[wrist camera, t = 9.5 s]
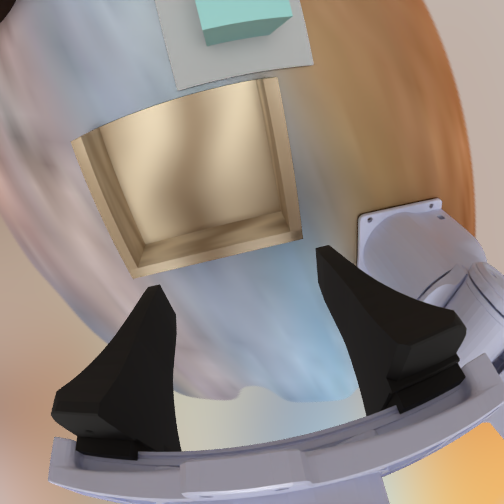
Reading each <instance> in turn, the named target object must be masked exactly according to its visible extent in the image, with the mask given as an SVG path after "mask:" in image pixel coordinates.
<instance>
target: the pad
mask: <svg viewBox="0 0 504 504" xmlns="http://www.w3.org/2000/svg"><path fill="white" fill-rule="evenodd" d="M289 2H290V6H291V10H292V14H293V17H291V18H290V19H289V20H287V21H286V22H285V23H284V24H282V25H281V26H280V27H278V28H277V29H276V30H275V31H273V32H272V33H271V34H270V35H265V36H258V37H251V38H245V39H239V40H234V41H229V42H224V43H219V44H215V45H210V46H207V45H206V41H205V38H204V34H203V30H202V27H201V22H200V18H199V14H198V10H197V6H196V2H195V0H155V3H156V7H157V12H158V16H159V20H160V24H161V28H162V32H163V36H164V40H165V44H166V48H167V52H168V56H169V60H170V64H171V68H172V72H173V76H174V79H175V83H176V87H177V91H179V90H183V89H186V88H190V87H193V86H197V85H201V84H205V83H209V82H213V81H217V80H221V79H225V78H230V77H235V76H240V75H245V74H250V73H256V72H261V71H268V70H274V69H281V68H289V67H298V66H307V65H314V64H313V58H312V53H311V48H310V43H309V39H308V34H307V30H306V25H305V21H304V17H303V12H302V8H301V4H300V0H289Z"/></svg>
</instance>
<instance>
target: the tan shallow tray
mask: <svg viewBox="0 0 504 504" xmlns="http://www.w3.org/2000/svg"><path fill="white" fill-rule="evenodd" d="M71 144H72V147H73V149H74V152H75V155H76V158H77V160H78V163H79V165H80V168H81V171H82V173H83V176H84V178H85V180H86V183H87V185H88V188H89V190H90V192H91V195H92V197H93V199H94V202H95V204H96V206H97V208H98V211H99V213H100V215H101V217H102V219H103V221H104V223H105V226H106V228H107V230H108V232H109V234H110V236H111V238H112V240H113V242H114V244H115V246H116V248H117V250H118V252H119V254H120V256H121V258H122V259H123V261H124V263H125V265H126V267H127V269H128V271H129V272H130V274H131V276H132V278H133V279H134V278H138V277H143V276H147V275H151V274H155V273H160V272H164V271H168V270H172V269H177V268H181V267H185V266H189V265H193V264H198V263H202V262H206V261H210V260H215V259H219V258H223V257H227V256H232V255H236V254H240V253H244V252H249V251H253V250H257V249H261V248H266V247H270V246H274V245H279V244H283V243H287V242H291V241H296V240H300V239H303V235H302V226H301V219H300V211H299V203H298V196H297V189H296V182H295V175H294V169H293V162H292V156H291V150H290V144H289V138H288V132H287V126H286V121H285V115H284V110H283V104H282V99H281V94H280V89H279V84H278V79H277V77H269V78H262V79H256V80H250V81H245V82H240V83H235V84H231V85H226V86H222V87H218V88H213V89H209V90H206V91H202V92H198V93H194V94H191V95H187V96H184V97H180V98H177V99H174V100H170V101H167V102H164V103H161V104H158V105H155V106H152V107H149V108H147V109H144V110H141V111H138V112H136V113H133V114H130V115H128V116H125V117H123V118H120V119H118V120H115V121H113V122H110V123H108V124H106V125H103V126H101V127H99V128H97V129H94V130H92V131H90V132H88V133H86V134H84V135H82V136H81V137H79V138H77V139H75V140H73V141H71Z"/></svg>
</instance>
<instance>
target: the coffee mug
mask: <svg viewBox="0 0 504 504" xmlns="http://www.w3.org/2000/svg"><path fill="white" fill-rule="evenodd" d="M15 1H16V0H0V22H1V21H2V20H3V19H4V18H5V17H6V15H7V14H8V12H9V11H10V10H11V8H12V6H13V5H14V3H15Z"/></svg>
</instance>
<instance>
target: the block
mask: <svg viewBox="0 0 504 504" xmlns="http://www.w3.org/2000/svg"><path fill="white" fill-rule="evenodd" d="M195 2H196V6H197V10H198V14H199V18H200V22H201V27H202V30H203V34H204V38H205V41H206V45H207V46H210V45H215V44H219V43H224V42H229V41H234V40H239V39H245V38H251V37H258V36H265V35H270V34H271V33H272V32H273V31H275V30H276V29H277V28H278V27H280V26H281V25H282V24H284V23H285V22H286V21H287V20H289V19H290V18H291V17H293V14H292V10H291V6H290V2H289V0H195Z"/></svg>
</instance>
